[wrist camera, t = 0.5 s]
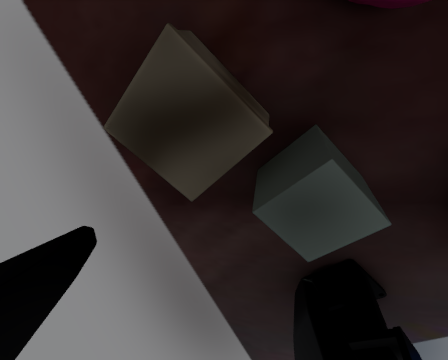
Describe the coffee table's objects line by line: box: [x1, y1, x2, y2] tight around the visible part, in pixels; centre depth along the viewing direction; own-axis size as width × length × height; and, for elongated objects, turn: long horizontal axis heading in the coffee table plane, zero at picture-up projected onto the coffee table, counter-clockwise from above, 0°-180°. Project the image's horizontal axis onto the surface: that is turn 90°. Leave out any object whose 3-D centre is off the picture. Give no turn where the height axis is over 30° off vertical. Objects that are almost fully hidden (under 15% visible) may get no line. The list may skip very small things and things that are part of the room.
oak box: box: [103, 23, 273, 201], centre depth 17 cm, size 8×8×4 cm
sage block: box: [252, 125, 392, 262], centre depth 17 cm, size 6×6×6 cm
